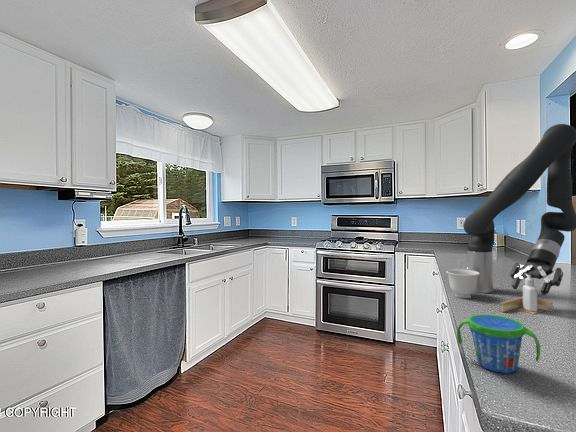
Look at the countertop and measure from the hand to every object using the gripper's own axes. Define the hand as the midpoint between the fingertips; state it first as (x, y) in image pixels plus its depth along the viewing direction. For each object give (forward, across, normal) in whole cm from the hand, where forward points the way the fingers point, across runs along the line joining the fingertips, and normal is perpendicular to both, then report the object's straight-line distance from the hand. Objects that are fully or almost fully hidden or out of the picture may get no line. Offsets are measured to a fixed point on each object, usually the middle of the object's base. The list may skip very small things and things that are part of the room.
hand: (528, 290), depth 104 cm
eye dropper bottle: (+4, 0, +6) cm, 7 cm away
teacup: (+5, -24, +5) cm, 25 cm away
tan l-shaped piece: (+6, 0, +4) cm, 7 cm away
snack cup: (+39, +15, -29) cm, 51 cm away
